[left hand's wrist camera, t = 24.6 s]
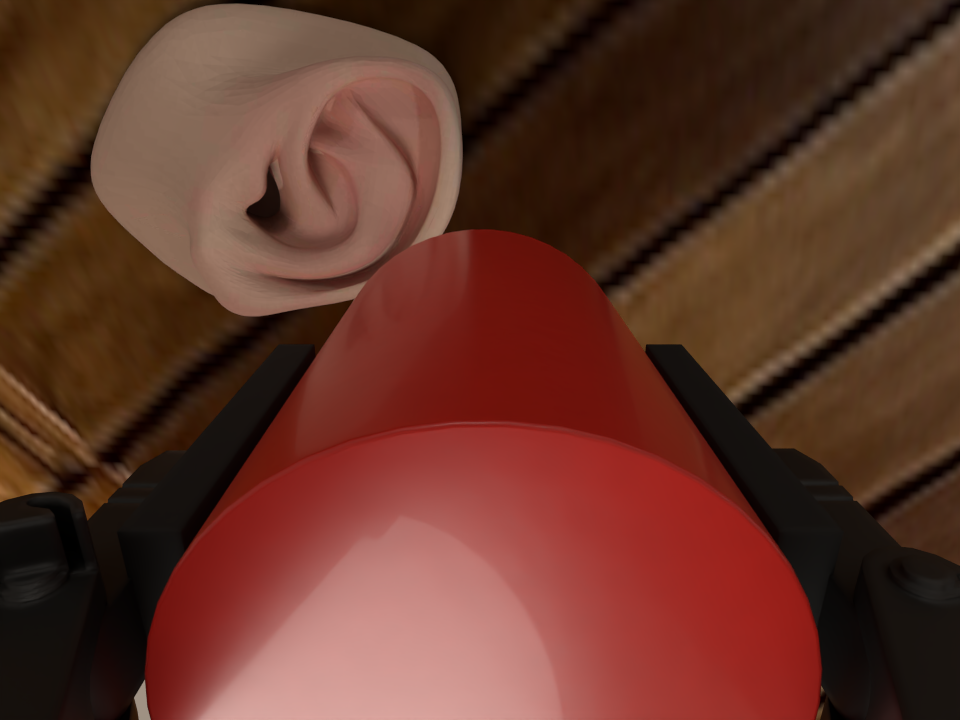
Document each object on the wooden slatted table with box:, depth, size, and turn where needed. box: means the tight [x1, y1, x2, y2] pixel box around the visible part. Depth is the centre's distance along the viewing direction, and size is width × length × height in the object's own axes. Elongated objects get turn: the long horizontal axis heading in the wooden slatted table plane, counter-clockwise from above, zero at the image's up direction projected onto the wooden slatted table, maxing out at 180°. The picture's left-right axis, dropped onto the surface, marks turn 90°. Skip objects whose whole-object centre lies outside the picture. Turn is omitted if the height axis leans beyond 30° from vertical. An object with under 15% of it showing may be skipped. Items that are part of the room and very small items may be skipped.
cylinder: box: [145, 229, 822, 720], centre depth 11 cm, size 7×7×10 cm
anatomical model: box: [91, 4, 463, 316], centre depth 22 cm, size 13×4×12 cm
